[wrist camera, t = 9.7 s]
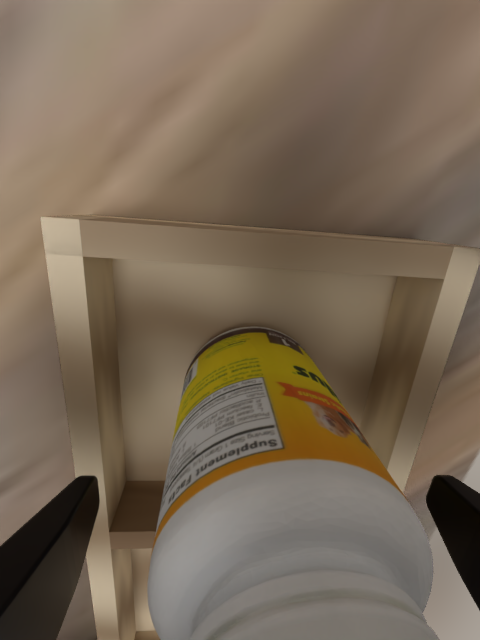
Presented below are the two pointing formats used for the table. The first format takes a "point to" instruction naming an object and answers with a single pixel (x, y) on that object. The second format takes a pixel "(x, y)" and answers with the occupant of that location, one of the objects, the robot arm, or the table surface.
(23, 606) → the robot arm
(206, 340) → the wooden divided tray
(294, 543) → the supplement bottle
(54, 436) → the table surface
